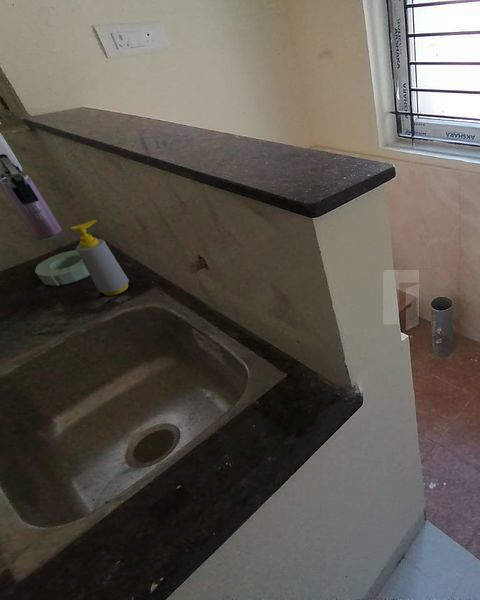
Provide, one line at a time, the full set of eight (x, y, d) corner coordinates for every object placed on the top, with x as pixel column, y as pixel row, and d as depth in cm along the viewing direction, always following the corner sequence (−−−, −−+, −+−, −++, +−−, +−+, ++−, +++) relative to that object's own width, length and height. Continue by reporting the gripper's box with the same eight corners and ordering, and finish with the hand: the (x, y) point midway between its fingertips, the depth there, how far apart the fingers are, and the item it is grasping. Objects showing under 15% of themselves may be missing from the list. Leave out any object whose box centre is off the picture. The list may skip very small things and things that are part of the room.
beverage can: (61, 227, 103) (26, 171, 93) (65, 235, 99) (30, 177, 90) (33, 235, 99) (-5, 178, 90) (37, 243, 96) (-3, 184, 87)
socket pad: (52, 291, 98) (45, 281, 97) (34, 274, 105) (27, 265, 103) (108, 268, 107) (103, 258, 105) (88, 254, 113) (83, 245, 111)
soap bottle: (136, 286, 99) (102, 223, 88) (107, 300, 95) (67, 235, 84) (124, 278, 102) (89, 215, 91) (95, 291, 98) (55, 227, 87)
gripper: (-59, 117, 84) (-4, 196, 95) (-40, 128, 76) (18, 213, 87) (-15, 111, 89) (32, 187, 100) (8, 120, 80) (57, 202, 91)
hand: (25, 198), depth 93 cm, fingers closed on beverage can, 6 cm apart
